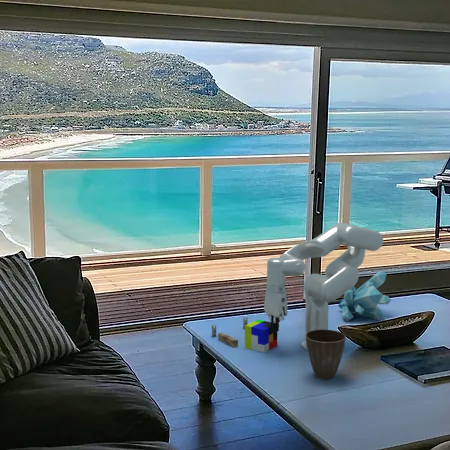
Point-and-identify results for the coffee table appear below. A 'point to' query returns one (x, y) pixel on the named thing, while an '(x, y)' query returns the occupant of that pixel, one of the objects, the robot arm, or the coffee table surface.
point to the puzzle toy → (260, 336)
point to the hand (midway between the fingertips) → (274, 331)
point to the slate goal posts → (245, 322)
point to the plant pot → (325, 352)
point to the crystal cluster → (365, 299)
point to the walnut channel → (227, 340)
